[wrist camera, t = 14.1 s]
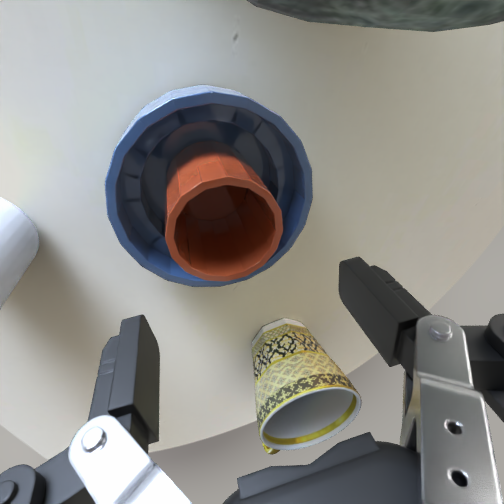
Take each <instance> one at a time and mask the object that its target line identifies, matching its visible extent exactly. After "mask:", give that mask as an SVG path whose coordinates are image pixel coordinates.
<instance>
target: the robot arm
mask: <svg viewBox="0 0 504 504" xmlns="http://www.w3.org/2000/svg"><path fill="white" fill-rule="evenodd" d="M339 295H340V298H341V300H342V302H343V304H344V305H345V306H346V308H347V309H348V311H349V312H350V313H351V315H352V316H353V317H354V319H355V320H356V322H357V323H358V324H359V326H360V327H361V328H362V330H363V331H364V332H365V334H366V335H367V337H368V338H369V339H370V341H371V342H372V343H373V345H374V346H375V348H376V349H377V350H378V352H379V353H380V354H381V356H382V357H383V358H384V360H385V361H386V363H387V364H388V365H389V367H392V366H395V365H398V364H401V365H402V366H403V368H404V369H405V371H404V387H403V388H404V390H403V419H402V429H401V436H400V445H398V444H393V443H389V442H381V441H375V440H374V438H373V437H372V435H371V433H370V432H368V433H365V434H362V435H359V436H356V437H353V438H350V439H348V440H345V441H342V442H340V443H337V444H336V445H335V446H333V447H332V448H331V449H330V450H328V451H327V452H326V453H324V454H323V455H322V456H320V457H319V458H318V459H316V460H315V461H314V462H312V463H311V464H308V465H296V466H271V467H268V468H265V469H262V470H259V471H256V472H254V473H251V474H248V475H245V476H242V477H239V478H237V481H238V487H239V489H238V490H237V491H235V492H234V493H233V494H232V495H231V496H229V498H228V499H226V500H225V502H224V503H223V504H503V499H502V494H501V488H500V483H499V477H498V472H497V466H496V461H495V455H494V450H493V444H492V438H491V433H490V427H489V423H488V416H487V411H486V405H485V401H486V403H487V404H488V405H489V406H490V407H491V408H492V410H493V411H494V412H495V413H496V414H497V415H498V416H499V418H500V419H501V420H502V421H503V422H504V314H498V315H495V316H494V317H492V318H491V319H490V322H489V324H488V326H459V325H458V324H457V323H456V322H454V321H453V320H451V319H449V318H446V317H443V316H439V315H432V314H431V313H430V312H429V311H428V310H426V309H425V308H424V307H423V306H422V305H421V304H420V303H419V302H418V301H417V300H416V299H415V298H414V297H413V296H412V295H411V294H410V293H409V292H408V291H407V290H406V289H405V288H403V287H402V286H401V285H400V284H399V283H398V282H397V281H395V279H394V278H393V277H392V276H391V275H390V274H389V273H388V272H387V271H385V270H383V269H381V268H379V267H377V266H375V265H373V266H369V265H368V264H367V263H366V262H365V261H364V260H363V259H362V258H360V257H355V258H351V259H348V260H344V261H341V262H340V264H339ZM159 377H160V353H159V347H158V343H157V340H156V338H155V336H154V334H153V332H152V330H151V328H150V326H149V324H148V322H147V320H146V318H145V316H144V315H139V316H135V317H131V318H128V319H124V320H122V322H121V327H120V333H119V335H118V336H114V337H111V338H110V339H109V341H108V342H107V344H106V346H105V347H104V349H103V350H102V355H101V360H100V366H99V370H98V377H97V379H96V384H95V389H94V394H93V399H92V404H91V408H90V413H89V418H88V421H87V423H86V424H84V425H83V426H82V427H81V428H80V429H79V430H78V432H77V433H76V434H75V436H74V437H73V439H72V441H71V443H70V446H69V447H68V448H67V449H65V450H64V451H62V452H61V453H59V454H58V455H56V456H55V457H53V458H51V459H50V460H48V461H47V462H45V463H44V464H42V465H40V466H39V467H37V468H36V469H33V468H32V467H31V466H28V465H24V464H23V465H17V466H14V467H12V468H9V469H8V470H6V471H4V472H3V473H2V474H0V504H192V503H191V502H190V501H189V500H188V499H187V498H186V497H185V496H184V494H183V493H182V492H181V491H180V490H179V489H178V488H177V486H176V485H175V484H174V483H173V482H172V481H171V480H170V478H169V477H168V476H167V475H166V474H165V473H164V472H163V470H162V469H161V468H160V467H159V466H158V465H157V464H156V463H155V462H154V461H153V460H152V459H151V458H150V457H149V456H148V444H151V443H154V442H157V441H159Z"/></svg>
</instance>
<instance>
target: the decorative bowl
mask: <svg viewBox="0 0 504 504" xmlns="http://www.w3.org/2000/svg"><path fill="white" fill-rule="evenodd" d="M247 1H249V2H250V3H251V4H253V5H254V6H256V7H260V8H263V9H266V10H270V11H273V12H277V13H280V14H284V15H287V16H291V17H294V18H297V19H301V20H304V21H308V22H318V23H329V24H340V25H351V26H361V27H373V28H387V29H401V30H414V31H428V32H437V31H444V30H452V29H460V28H467V27H475V26H483V25H490V24H494V23H498V22H502V21H504V0H247Z"/></svg>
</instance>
